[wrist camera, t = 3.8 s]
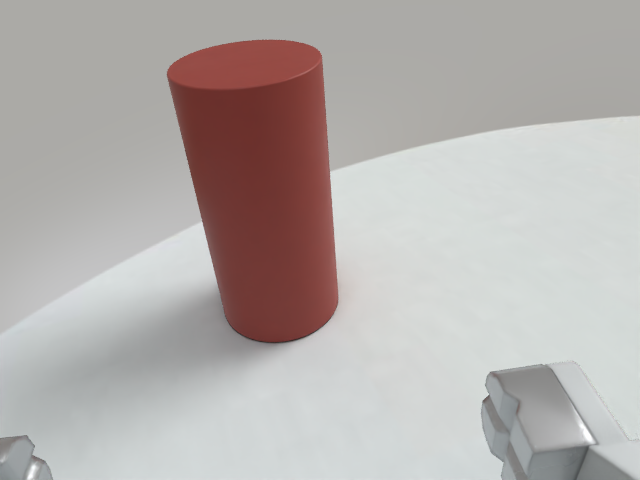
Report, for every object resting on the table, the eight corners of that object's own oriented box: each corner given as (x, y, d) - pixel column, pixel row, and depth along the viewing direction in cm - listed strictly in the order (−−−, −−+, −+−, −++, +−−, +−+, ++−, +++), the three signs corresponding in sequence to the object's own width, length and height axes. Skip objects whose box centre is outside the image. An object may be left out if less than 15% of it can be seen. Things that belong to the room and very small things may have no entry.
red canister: (229, 354, 20) (165, 99, 14) (220, 276, 24) (167, 50, 18) (351, 327, 21) (338, 73, 15) (324, 256, 24) (305, 32, 19)
